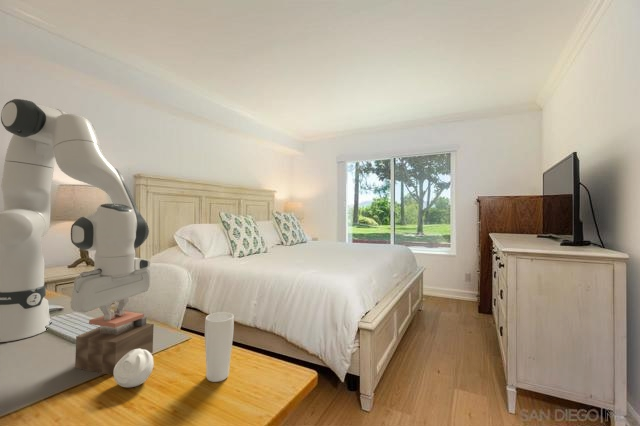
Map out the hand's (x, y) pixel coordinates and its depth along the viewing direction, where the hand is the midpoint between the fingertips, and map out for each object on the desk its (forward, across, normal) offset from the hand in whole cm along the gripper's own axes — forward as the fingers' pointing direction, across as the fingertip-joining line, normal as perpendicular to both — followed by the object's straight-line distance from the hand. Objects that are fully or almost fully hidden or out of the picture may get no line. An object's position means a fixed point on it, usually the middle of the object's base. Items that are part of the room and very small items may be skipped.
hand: (114, 317), depth 77 cm
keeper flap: (+1, +1, 0) cm, 2 cm away
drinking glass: (+12, +1, -30) cm, 32 cm away
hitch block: (+12, +1, 0) cm, 12 cm away
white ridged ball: (+12, -7, -13) cm, 19 cm away
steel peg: (+11, +1, 0) cm, 11 cm away
